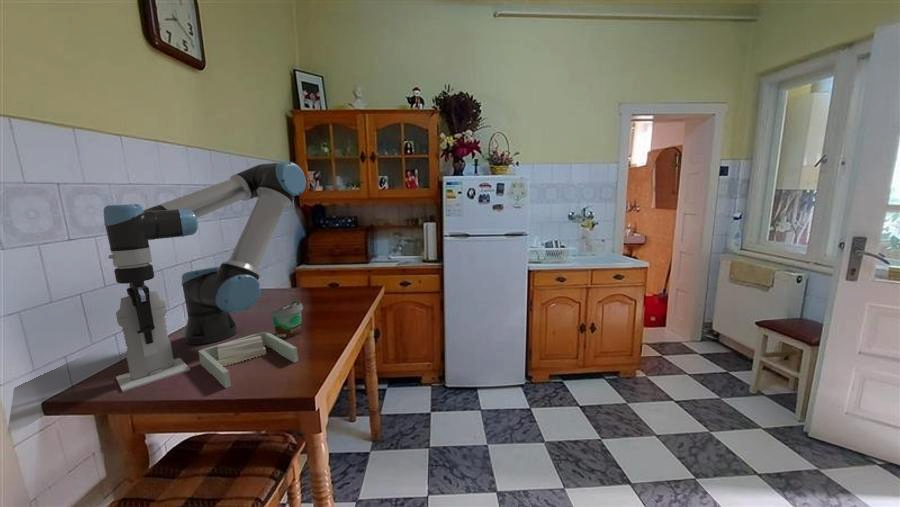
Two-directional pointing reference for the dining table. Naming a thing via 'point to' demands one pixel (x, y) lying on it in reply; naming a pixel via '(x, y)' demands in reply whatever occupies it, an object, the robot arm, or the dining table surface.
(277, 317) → the food container
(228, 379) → the rack
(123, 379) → the mat
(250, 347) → the offcut upper
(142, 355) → the tall pale column
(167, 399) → the dining table surface
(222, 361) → the offcut lower
